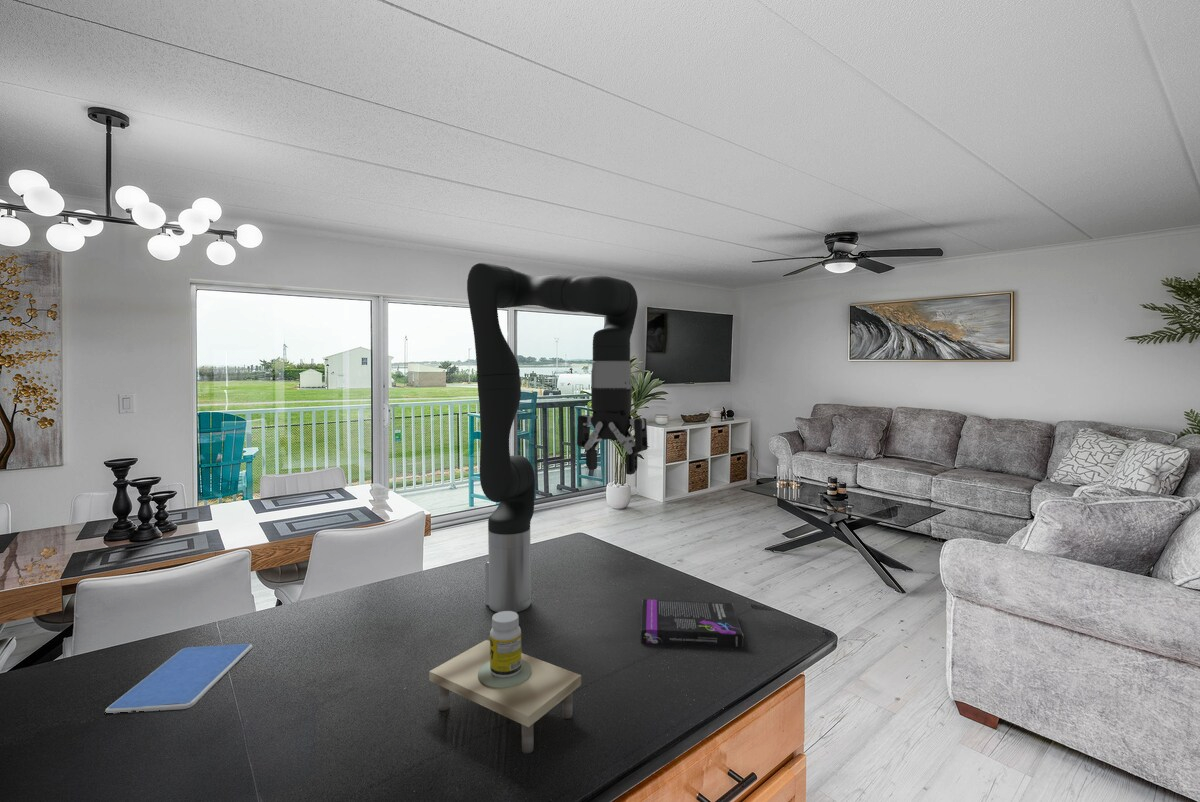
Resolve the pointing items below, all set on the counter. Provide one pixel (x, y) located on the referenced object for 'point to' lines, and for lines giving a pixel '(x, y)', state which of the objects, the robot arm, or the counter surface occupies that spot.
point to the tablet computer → (181, 679)
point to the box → (690, 623)
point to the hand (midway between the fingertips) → (611, 471)
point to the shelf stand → (507, 687)
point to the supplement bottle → (505, 644)
